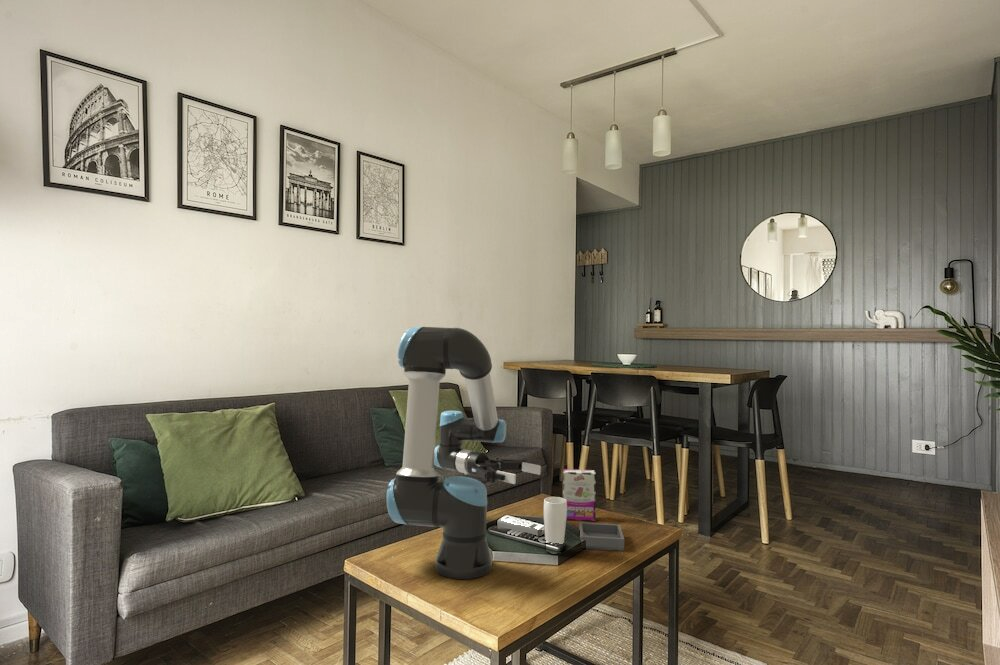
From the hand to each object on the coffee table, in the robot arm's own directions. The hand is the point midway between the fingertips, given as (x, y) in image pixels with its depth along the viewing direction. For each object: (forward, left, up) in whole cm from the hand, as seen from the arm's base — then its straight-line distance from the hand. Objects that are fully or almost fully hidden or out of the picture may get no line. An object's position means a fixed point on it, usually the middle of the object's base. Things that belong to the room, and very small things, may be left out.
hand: (528, 474), depth 168 cm
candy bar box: (+16, +26, -21) cm, 37 cm away
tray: (+22, +5, -21) cm, 31 cm away
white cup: (+8, -5, -21) cm, 23 cm away
